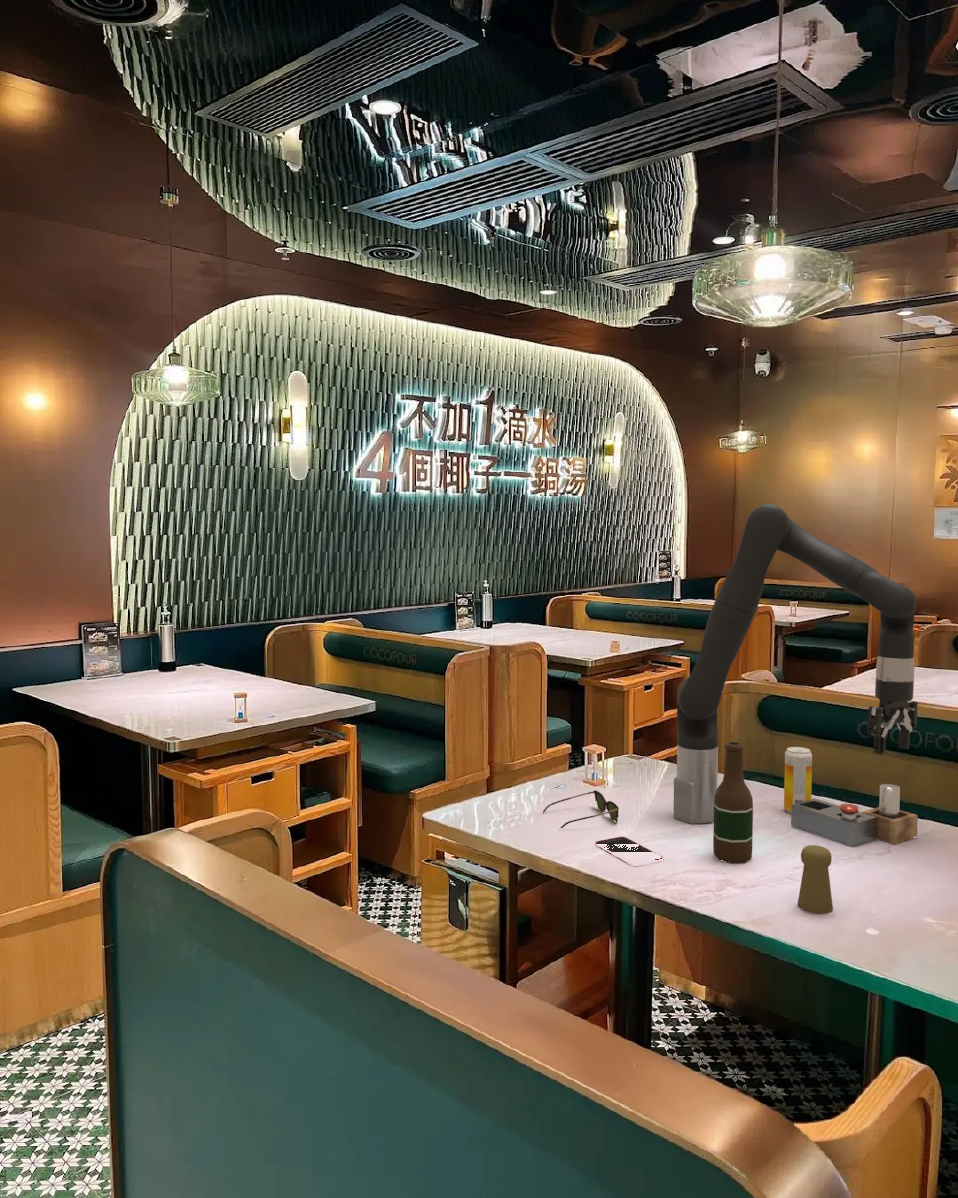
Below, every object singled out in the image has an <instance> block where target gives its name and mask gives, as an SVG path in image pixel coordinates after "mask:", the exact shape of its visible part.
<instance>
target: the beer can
mask: <svg viewBox="0 0 958 1198" xmlns="http://www.w3.org/2000/svg"><path fill="white" fill-rule="evenodd" d="M812 773H813V754H812V752H811V749H809V748H806V747H802V746H801V747H800V746H791V747H787V748H786V751H785V752H784V783H783V784H784V786H783V787H784V789H783V790H784V791H783V792H784V793H783V808H784V809H785V811H786V813H789V814H791V815H792V804H795V803H799V802H803V801H807V800H811V799H812V782H813V774H812Z"/></svg>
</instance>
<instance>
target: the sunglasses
mask: <svg viewBox="0 0 958 1198" xmlns="http://www.w3.org/2000/svg"><path fill="white" fill-rule="evenodd" d="M592 794H594V799H595V802H596V806H597V809H598V808H599V809H600V810H601V811H600V810H599V809H598V810H599V811H600V812H601V813H597V814H593V815H590V816H585V817H580V818H576V819H572V820H569V821H566V822H565V823H564V824H563V825H562V826H561V827H559V828H562V829H563V828H564V827H566V826H567V825H568V824H570V823H573V822H578V821H583V820H587V819H590V818H591V819H592V818H595V817H599V816H601V815H605V814H609V817H610V819H611V820H612V819H613V820H615V821H616V822H617V823H618V821H619V809H620V808H619V806H618V805H617V804H616V803H615V802H613V801H612V800H609V801H608V800H606V799H605V796H604V795H603V794H602V793H601V792H600V791H599V790H593V791H589V792H585V793H581V794H578V795H573V796H571V797H567V798H564V799H561V800H560V799H559V800H557V801H555V802H552V803H550V804H548V805H547V806H546V807H544V809H543V811H542V812H544V813H545V812H547V809H548V808H550V807H551V806H553V805H557V804H559V803H562V802H564V801H568V800H571V799H574V798H578V797H581V796H586V795H592ZM606 810H607V811H606ZM603 812H605V813H603ZM613 820H612V821H613ZM616 822H615V823H616Z"/></svg>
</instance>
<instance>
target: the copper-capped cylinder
mask: <svg viewBox="0 0 958 1198" xmlns="http://www.w3.org/2000/svg"><path fill="white" fill-rule="evenodd" d="M839 806H840V810H841V811H842V817H844V818H847V819H850V820H852V819H856V818H857V813H858V812H859V806H858V805H856V804H852V803H842V804H840V805H839Z"/></svg>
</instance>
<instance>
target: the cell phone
mask: <svg viewBox="0 0 958 1198" xmlns="http://www.w3.org/2000/svg"><path fill="white" fill-rule="evenodd" d="M595 843H596V844H607V846H608V845H609V846H608V847H607V846H606V847H607V848H609V847H610V848H609V849H607V850H609V851H611V852H654V851H653V850H651V849H648V848H647V847H646V846H643V845H641V844H639V846H638V847H636V848H635V847H631V850H629V849H630V848H629V849H628V850H627V848H628V847H626V845H625V846H624V845H623V846H624V847H623V846H622V847H623V848H621V847H620V848H618V847H619V846H620V845H619V846H618V847H617V846H615V845H614V844H617V845H618V844H638V843H637V842H635V841H633V839H630V838H628V837H626V836H617V837H611V838H607V839H602V840H597V841H595ZM612 845H613V846H612ZM613 847H614V848H613ZM625 847H626V848H625ZM604 848H605V847H604ZM612 848H613V849H612ZM634 848H635V849H634ZM637 848H638V849H637ZM632 849H633V850H632ZM636 849H637V850H636ZM634 850H635V851H634ZM660 856H661V855H660ZM661 857H662V858H663V859H664V857H663V856H661ZM662 858H660V859H662ZM655 860H659V859H655Z"/></svg>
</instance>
